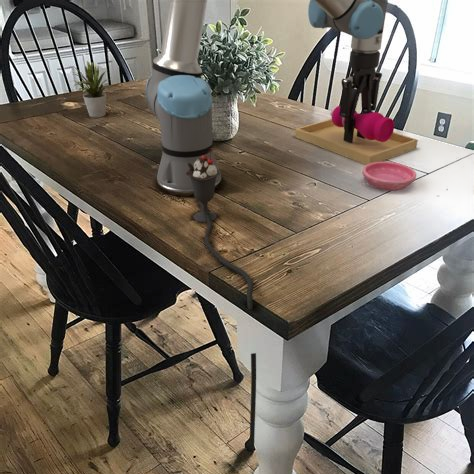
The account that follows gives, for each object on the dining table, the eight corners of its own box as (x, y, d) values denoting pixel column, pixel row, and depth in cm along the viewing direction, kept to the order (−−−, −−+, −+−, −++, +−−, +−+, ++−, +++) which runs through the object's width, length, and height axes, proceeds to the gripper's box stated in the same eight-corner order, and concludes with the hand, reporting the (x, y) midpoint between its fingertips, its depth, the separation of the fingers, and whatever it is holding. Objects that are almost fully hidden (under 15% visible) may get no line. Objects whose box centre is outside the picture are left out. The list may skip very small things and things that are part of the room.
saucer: (401, 171, 137) (403, 159, 135) (423, 192, 127) (426, 179, 125) (353, 174, 135) (355, 162, 133) (372, 196, 125) (374, 183, 123)
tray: (416, 148, 150) (418, 139, 149) (369, 165, 140) (370, 156, 139) (341, 123, 168) (342, 115, 166) (294, 137, 158) (295, 128, 156)
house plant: (68, 110, 179) (59, 57, 169) (110, 105, 184) (103, 53, 174) (77, 123, 168) (68, 67, 159) (121, 117, 173) (115, 62, 164)
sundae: (227, 216, 117) (226, 148, 108) (204, 227, 113) (201, 157, 104) (205, 207, 121) (203, 140, 112) (183, 217, 117) (178, 149, 108)
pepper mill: (389, 145, 147) (334, 127, 160) (399, 118, 145) (342, 102, 158) (374, 142, 143) (319, 123, 155) (384, 114, 140) (327, 97, 153)
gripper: (353, 57, 133) (342, 150, 146) (399, 48, 142) (385, 136, 155) (330, 52, 138) (322, 142, 151) (376, 43, 147) (365, 129, 160)
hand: (354, 139), depth 153 cm, fingers closed on pepper mill, 5 cm apart
